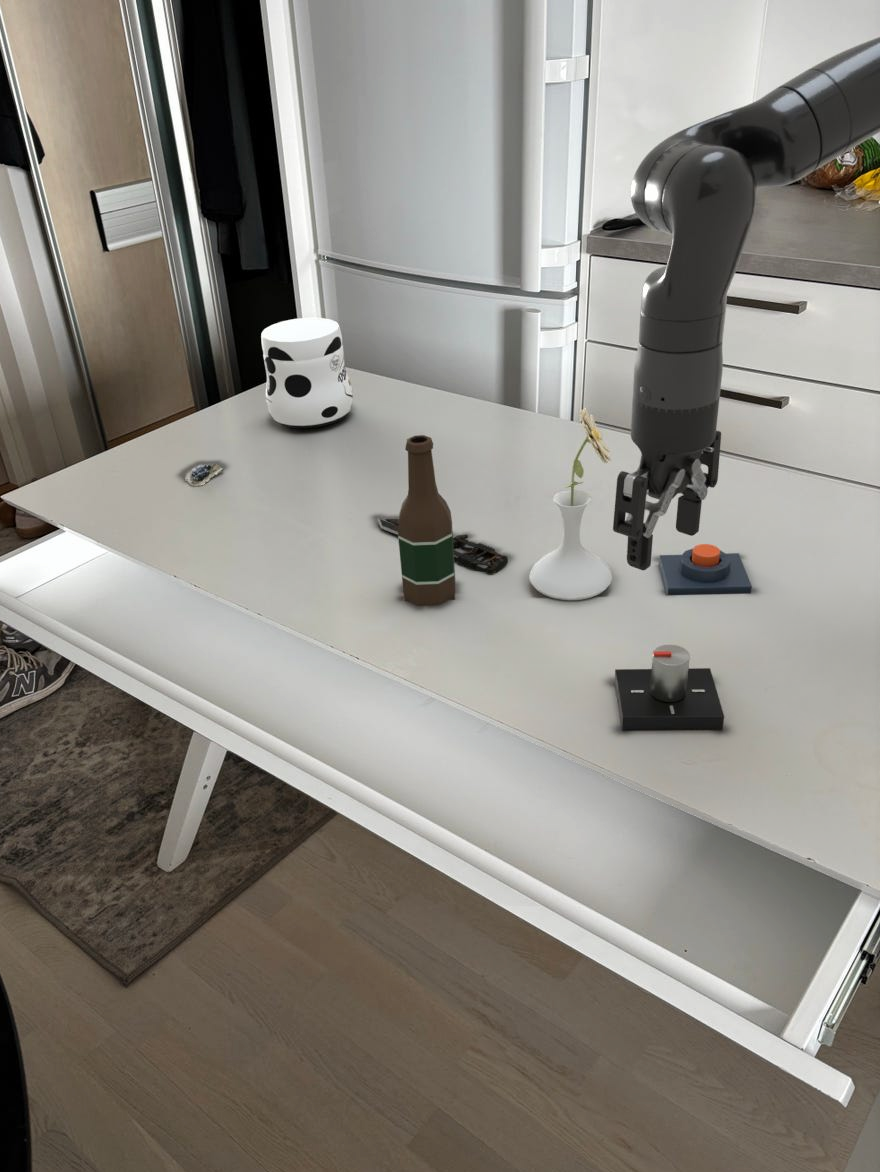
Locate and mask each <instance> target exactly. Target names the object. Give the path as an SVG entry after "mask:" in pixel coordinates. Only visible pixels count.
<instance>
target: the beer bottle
mask: <svg viewBox="0 0 880 1172" xmlns="http://www.w3.org/2000/svg"><path fill="white" fill-rule="evenodd" d="M433 449H434V441H433V439H432V437H430V436H427V435H425V434H421V435H413V436H411V437H409V438H407V439H406V442H405V451H407V466H408V467H407V474H408V475H407V476H408V477H407V479H408V480H407V481H408V490H407V495H406V497H405V498H404V500H403V501H402V503H401V507H400V510H399V515H398V519H399V520H398V525H397V526H398V535H397V537H398V548H399V549H398V550H399V559H400V572H401V581H402V582H401V583H402V593H403V598H404V602H410V603H412V604H414V605H416V606H418V607H423V606H424V607H428V606H429V607H430V606H441V605H442V604H445V603H447V602H448V601H455V600H456V567H455V565H456V564H455V561H454V557H455V555H454V551H455V548H454V547H453V538H454V532H453V529H454V528H453V520H452V511H451V509H450V507H449V505H448V503H447V500H446V499H445V498H443V496H442V495H441V494H440V493H439V490H438V487H437V482H436V475H435V467H434V459H433V452H432V450H433Z"/></svg>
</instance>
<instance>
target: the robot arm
mask: <svg viewBox="0 0 880 1172" xmlns="http://www.w3.org/2000/svg"><path fill="white" fill-rule="evenodd" d="M878 134H880V36H879V37H876V38H873V39H871V40H868V41H865V42H863V43H860V44H857V45H855V46H853V47H850V48H848V49H846V50H844V51H841V52H838V53H836V54H835V55H833V56H830V57H828V58H827V59H824V60H823V61H821V62H819V63H818V64H815V65H814V66H812V67H810V68H808V69H806V70H804V71H803V72H801V73H800V74H798V75H796V76H795V77H793V78H791V79H789V80H788V81H787V82H784V83H782V84H781V85H779V86H777V87H775V88H774V89H773V90H772V91H770V92H768V93H766V94H765V95H764V96H762V97H761V98H759V99H757V100H755V101H753V102H751V103H748V104H747V105H744V106H740V107H738V108H735V109H732V110H729V111H726V112H723V113H721V114H719V115H716V116H713V117H710V118H707V119H705V120H703V121H701V122H697V123H695V124H692V125H690V126H688V127H686V128H683V129H682V130H680V131H677V132H676V133H674V134H672V135H670V136H668V137H667V138H665V139H664V140H662V141H661V142H659V143H658V144H657V145H655V147H654V148H652V149H651V150H650V151H649V152H648V153H647V154H646V155H645V157H644V158H643V159H642V160H641V162H640V164H639V165H638V167H637V168H636V170H635V172H634V175H633V178H632V181H631V186H630V200H631V205H632V208H633V211H634V213H635V214H636V216H637V217H638V219H639V220H640V221H641V222H642V223H643V224H645V225H646V226H647V227H649V228H651V229H652V230H655V231H657V232H660V233H663V234H666V235H669V236H672V237H671V247H670V251H669V256H668V260H667V263H666V265H663V266H661V267H659V268H656V269H655V270H653V271H652V272H651V273H649V274H648V276H647V277H646V278H645V281H644V283H643V285H642V286H643V287H642V292H641V296H640V297H641V298H640V313H639V332H638V343H637V352H636V356H635V361H634V366H633V367H634V368H633V369H634V370H633V382H632V384H633V385H632V400H631V401H632V402H631V421H630V438H631V440H632V442H633V443H634V445H636V446H637V448H638V450H639V451H640V459H639V463H638V466H637V470H635V471H633V472H632V473H631V472H628V471H624V470H621V471H620V472H619V473H618V475H617V477H616V478H617V479H616V489H615V498H614V499H615V500H614V511H613V523H612V524H613V525H612V531H613V532H614V533H617V534H620V535H623V536H626V537H627V547H626V562H627V564H628V565H629V566H630V567H632V568H635V569H638V570H640V571H646V570H647V569H649V568H650V567H651V565H652V553H653V540H654V538H653V537H654V534H653V532H654V530H655V527H656V526H657V523H658V520H659V518H660V517H662V516H665V515H667V511H668V510H669V507H670V505H671V502H672V500H673V499H674V498H675V497H676V496H677V495H678V494H680V496H678V498H677V508H676V509H677V510H676V519H675V530H676V531H677V532H679V533H681V534H684V535H687V536H690V537H694V536H695V535H696V534H698V533H699V531H700V521H701V512H702V504H703V503H702V502H703V501H704V500H705V499H706V498H707V495H708V489H709V488H712V489H713V488H715V487H716V486H717V484H718V481H719V469H720V456H721V442H722V431H720V430H717V425H718V415H719V406H720V398H721V390H722V389H721V388H722V379H723V370H724V369H723V368H724V358H723V357H724V356H723V340H724V333H725V332H724V331H725V322H726V321H725V320H726V312H727V298H728V291H729V290H730V286H731V284H732V281H733V279H734V277H735V275H736V272H737V269H738V267H739V264H740V261H741V257H742V254H743V251H744V249H745V246H746V243H747V241H748V238H749V235H750V232H751V229H752V225H753V222H754V219H755V213H756V209H757V200H758V199H757V198H758V197H757V196H758V195H757V194H758V191H757V189H758V188H779V187H784V186H788V185H790V184H793V183H796V182H797V181H799V180H801V179H803V178H805V177H807V176H809V174H811V173H813V172H815V171H817V170H818V169H820V168H822V167H823V166H825V165H827V164H828V163H830V162H833V161H834V160H835V159H837V158H839V157H841V156H842V155H843V154H845V153H847V152H849V151H850V150H852V149H854V148H855V147H857V146H859V145H861V144H862V143H864V142H865V141H868V140H869V139H871V138H873V137H874V136H876V135H878ZM702 465H704V466H706V467H707V472H703V471H704V470H703V469H702V467H701V466H702ZM647 496H648V497H650V498H652V499H655V500H658V501H657V502H651V501H647ZM646 512H648V515H647V518H646V519H645V513H646ZM626 515H627V516H626Z"/></svg>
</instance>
